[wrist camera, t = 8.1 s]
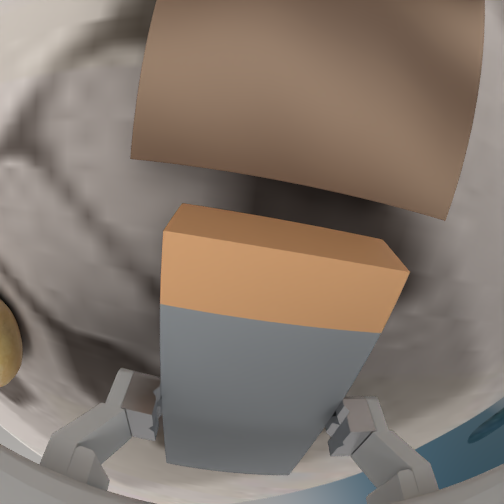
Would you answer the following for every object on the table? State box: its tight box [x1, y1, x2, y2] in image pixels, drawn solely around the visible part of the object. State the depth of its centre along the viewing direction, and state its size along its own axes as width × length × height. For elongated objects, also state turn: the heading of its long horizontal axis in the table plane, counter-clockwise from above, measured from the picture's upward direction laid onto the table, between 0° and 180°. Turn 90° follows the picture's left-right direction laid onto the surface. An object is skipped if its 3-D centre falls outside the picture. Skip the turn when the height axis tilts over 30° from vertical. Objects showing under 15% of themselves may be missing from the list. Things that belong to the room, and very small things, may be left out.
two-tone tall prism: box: [160, 203, 410, 475], centre depth 10 cm, size 12×6×2 cm, turn 170°
